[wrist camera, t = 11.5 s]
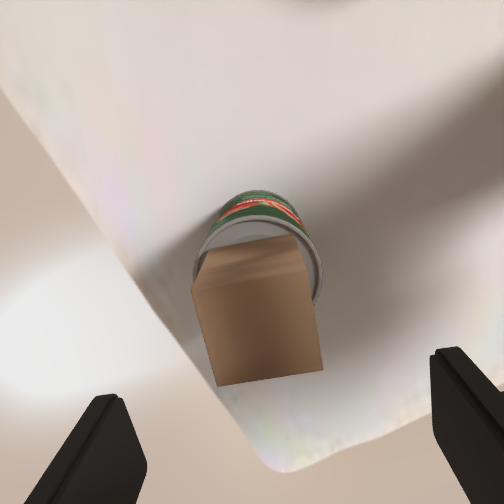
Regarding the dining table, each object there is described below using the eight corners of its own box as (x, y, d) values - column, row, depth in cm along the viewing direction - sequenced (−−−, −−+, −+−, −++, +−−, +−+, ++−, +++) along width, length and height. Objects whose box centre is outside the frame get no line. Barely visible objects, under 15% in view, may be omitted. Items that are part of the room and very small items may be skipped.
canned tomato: (290, 179, 30) (308, 200, 20) (309, 262, 32) (334, 321, 22) (203, 202, 31) (175, 234, 20) (227, 282, 33) (213, 348, 23)
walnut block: (293, 233, 20) (307, 270, 14) (305, 309, 22) (323, 370, 16) (209, 248, 21) (190, 290, 15) (227, 322, 22) (217, 386, 16)
